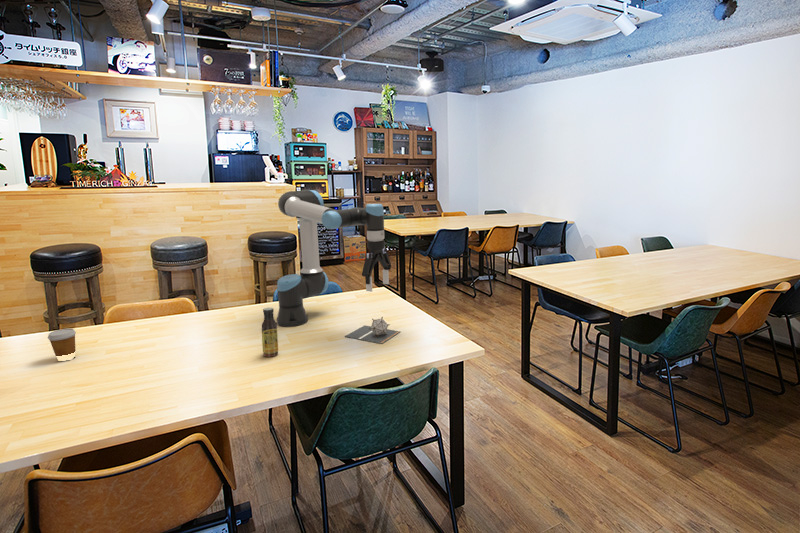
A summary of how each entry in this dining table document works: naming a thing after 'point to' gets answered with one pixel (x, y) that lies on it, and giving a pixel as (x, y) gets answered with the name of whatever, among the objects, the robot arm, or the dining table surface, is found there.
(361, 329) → the lane mat
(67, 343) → the disposable coffee cup
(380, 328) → the game die
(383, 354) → the dining table surface
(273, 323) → the sauce bottle
